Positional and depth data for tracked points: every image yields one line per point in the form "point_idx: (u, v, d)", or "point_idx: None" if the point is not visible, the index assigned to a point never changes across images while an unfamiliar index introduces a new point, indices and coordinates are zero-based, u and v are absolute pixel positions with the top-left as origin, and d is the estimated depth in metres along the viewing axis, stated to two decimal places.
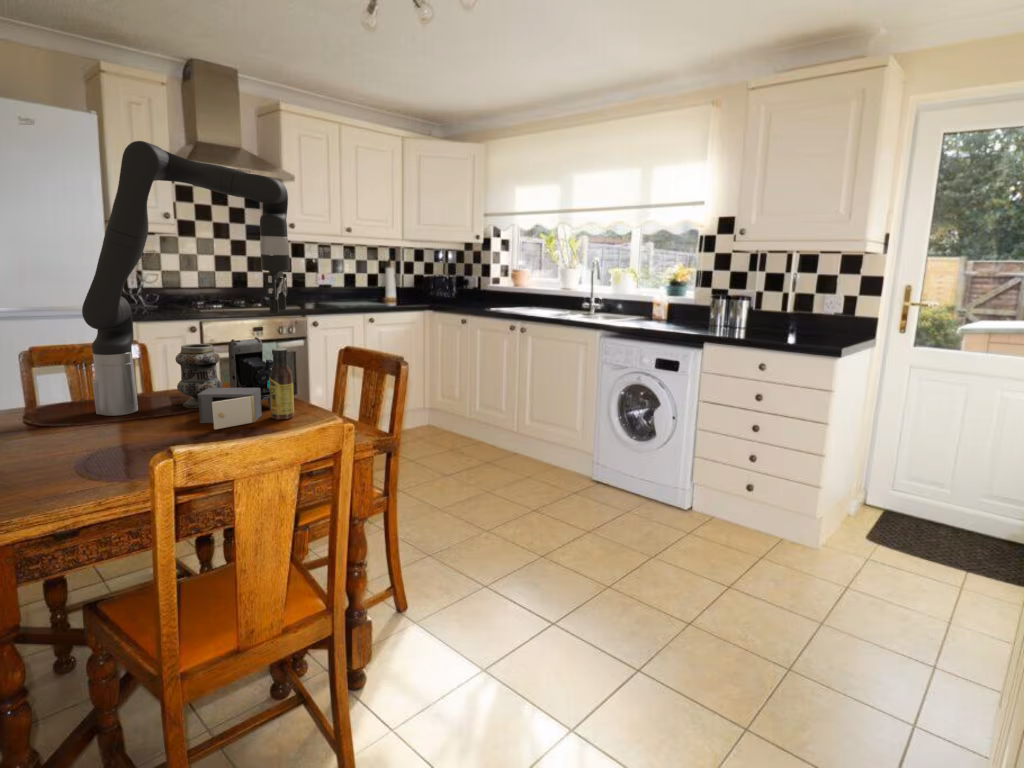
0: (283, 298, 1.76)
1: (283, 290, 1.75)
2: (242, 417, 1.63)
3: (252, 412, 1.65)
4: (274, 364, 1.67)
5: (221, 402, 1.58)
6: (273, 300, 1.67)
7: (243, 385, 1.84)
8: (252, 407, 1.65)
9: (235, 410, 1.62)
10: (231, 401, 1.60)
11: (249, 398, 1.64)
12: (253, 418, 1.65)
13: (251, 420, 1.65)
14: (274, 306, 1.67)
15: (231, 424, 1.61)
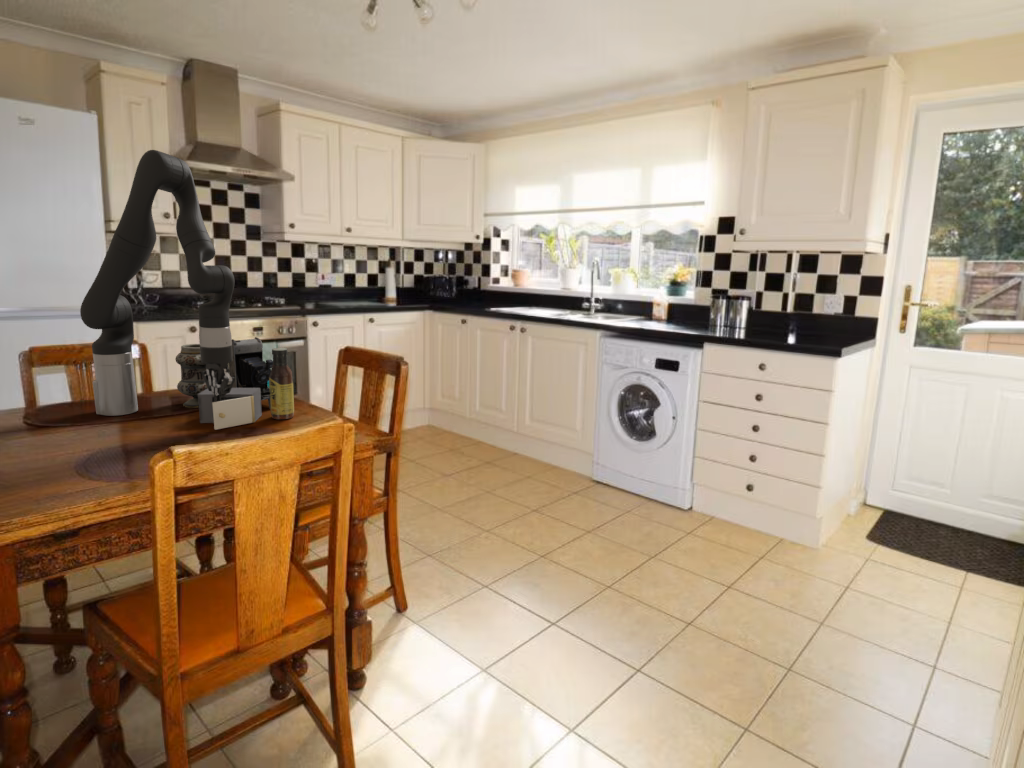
0: None
1: None
2: (242, 417, 1.63)
3: (252, 412, 1.65)
4: (274, 364, 1.67)
5: (221, 402, 1.58)
6: None
7: (243, 385, 1.84)
8: (252, 407, 1.65)
9: (235, 410, 1.61)
10: (231, 401, 1.60)
11: (249, 398, 1.64)
12: (253, 418, 1.65)
13: (251, 420, 1.65)
14: None
15: (231, 424, 1.61)
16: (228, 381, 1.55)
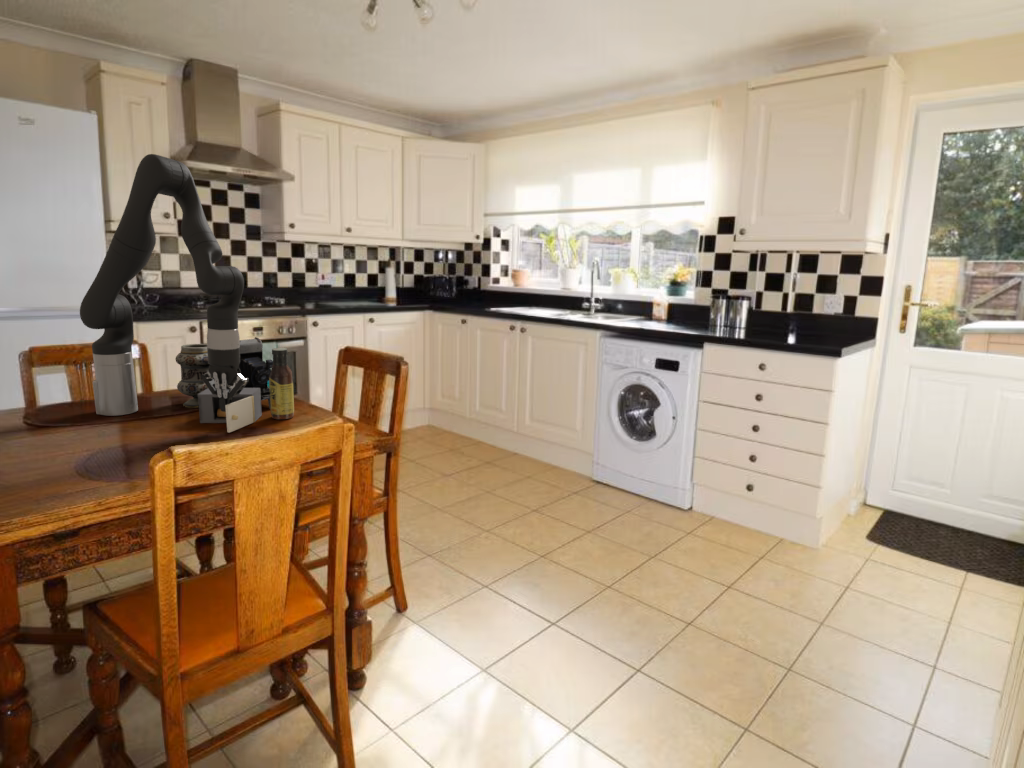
0: None
1: None
2: (247, 418, 1.63)
3: (253, 412, 1.65)
4: (274, 364, 1.67)
5: (233, 404, 1.57)
6: None
7: None
8: (253, 407, 1.65)
9: (242, 411, 1.61)
10: (239, 402, 1.59)
11: (251, 398, 1.64)
12: (254, 418, 1.66)
13: (252, 420, 1.65)
14: None
15: (240, 426, 1.60)
16: (244, 382, 1.55)
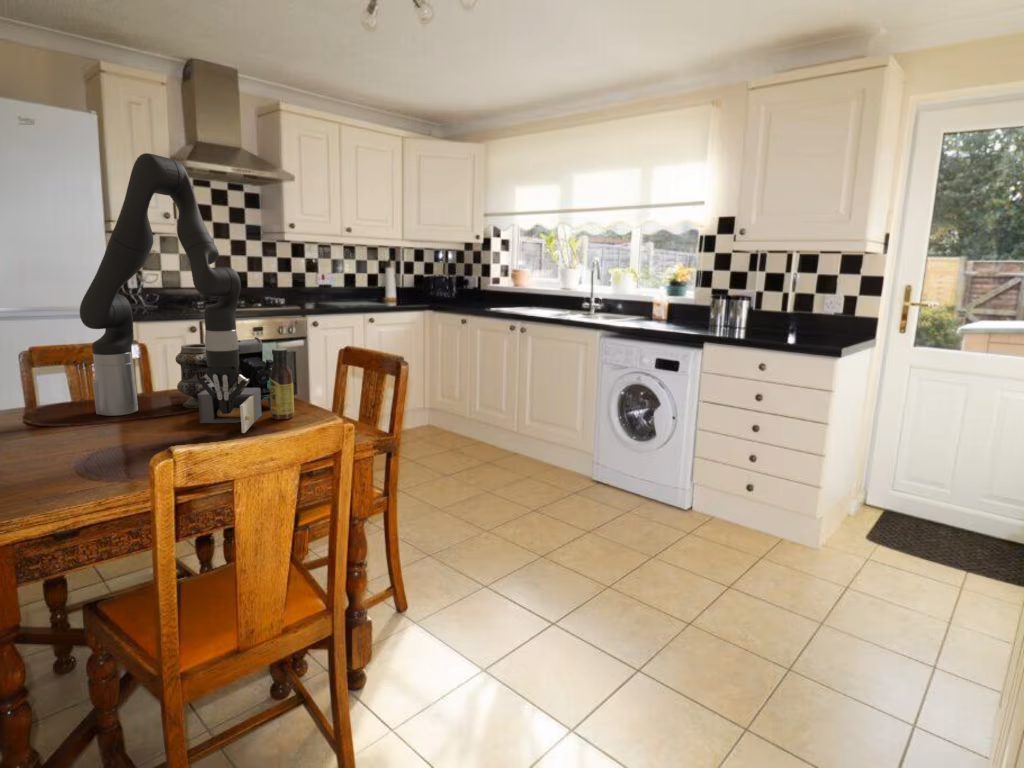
0: None
1: None
2: (251, 418, 1.63)
3: (253, 412, 1.65)
4: (274, 364, 1.67)
5: (245, 404, 1.57)
6: None
7: None
8: (253, 407, 1.65)
9: (249, 411, 1.61)
10: (247, 403, 1.59)
11: (252, 398, 1.64)
12: (254, 418, 1.66)
13: (253, 420, 1.65)
14: None
15: (248, 426, 1.60)
16: (246, 383, 1.55)
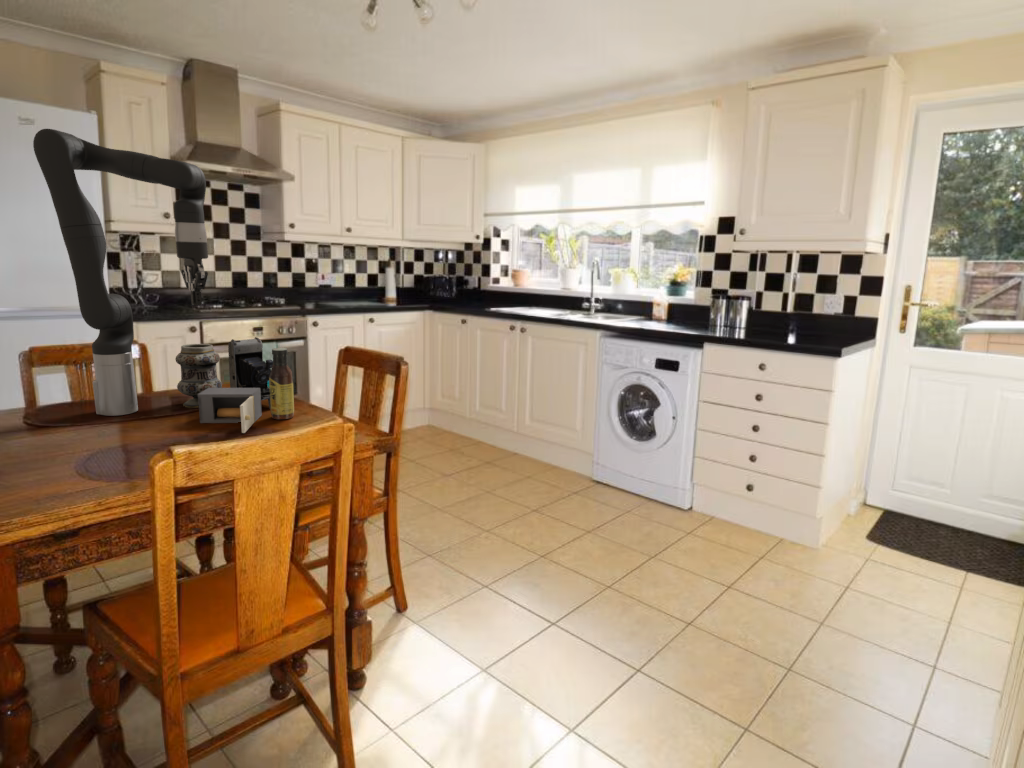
0: None
1: None
2: (251, 418, 1.63)
3: (253, 412, 1.65)
4: (274, 364, 1.67)
5: (245, 404, 1.57)
6: None
7: (243, 385, 1.84)
8: (253, 407, 1.65)
9: (249, 411, 1.61)
10: (247, 403, 1.59)
11: (252, 398, 1.64)
12: (254, 418, 1.66)
13: (253, 420, 1.65)
14: None
15: (248, 426, 1.60)
16: (201, 275, 1.62)
